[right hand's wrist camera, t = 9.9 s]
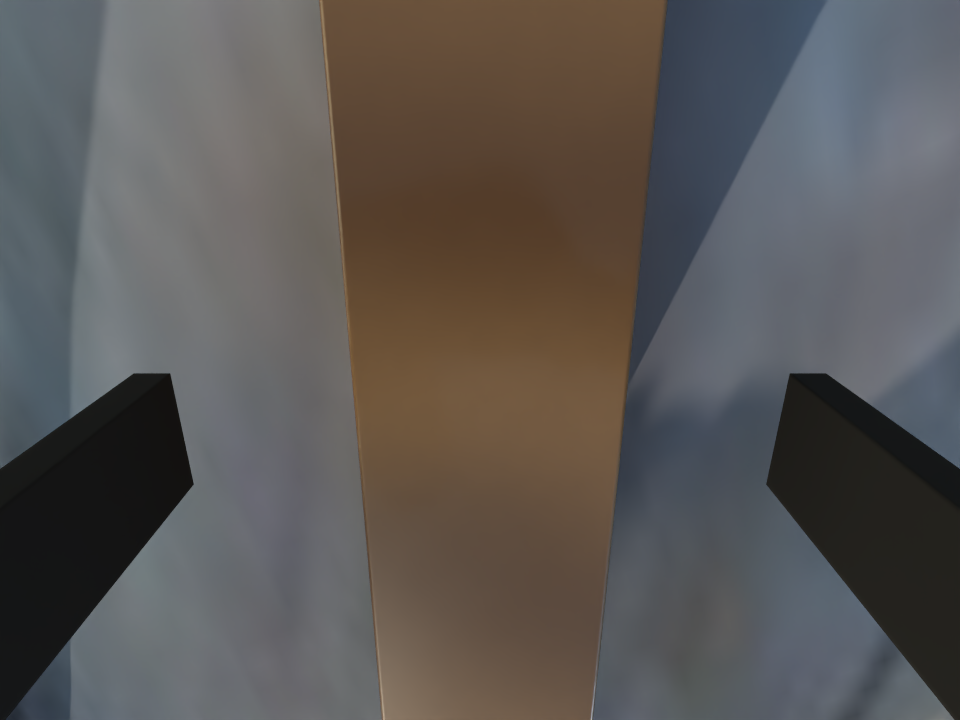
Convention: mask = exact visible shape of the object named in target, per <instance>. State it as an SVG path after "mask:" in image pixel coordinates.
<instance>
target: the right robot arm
mask: <svg viewBox="0 0 960 720" xmlns="http://www.w3.org/2000/svg"><path fill="white" fill-rule="evenodd" d="M193 485H194V484H193V479H192V474H191V470H190V465H189V460H188V455H187V451H186V446H185V441H184V437H183V432H182V427H181V422H180V418H179V413H178V408H177V404H176V399H175V394H174V389H173V385H172V380H171V375H170V374H133V375H131V376H130V377H128V378H127V379H126V380H124V381H123V382H121V383H120V384H119V385H117V386H116V387H114V388H113V389H112V390H110V391H109V392H107V393H106V394H105V395H103V396H102V397H100V398H99V399H98V400H96V401H95V402H93V403H92V404H91V405H89V406H88V407H86V408H85V409H84V410H82V411H81V412H79V413H78V414H77V415H75V416H74V417H72V418H71V419H70V420H68V421H67V422H65V423H64V424H63V425H61V426H60V427H58V428H57V429H56V430H54V431H53V432H51V433H50V434H49V435H47V436H46V437H44V438H43V439H42V440H40V441H39V442H37V443H36V444H35V445H33V446H32V447H30V448H29V449H28V450H26V451H25V452H23V453H22V454H21V455H19V456H18V457H16V458H15V459H14V460H12V461H11V462H9V463H8V464H7V465H5V466H4V467H2V468H1V469H0V720H6V718H7V717H8V716H9V715H10V713H11V712H12V711H13V710H14V708H15V707H16V706H17V705H18V703H19V702H20V701H21V700H22V698H23V697H24V696H25V695H26V693H27V692H28V691H29V690H30V688H31V687H32V686H33V685H34V683H35V682H36V681H37V680H38V678H39V677H40V676H41V675H42V673H43V672H44V671H45V670H46V668H47V667H48V666H49V665H50V663H51V662H52V661H53V660H54V658H55V657H56V656H57V655H58V653H59V652H60V651H61V650H62V648H63V647H64V646H65V645H66V643H67V642H68V641H69V640H70V638H71V637H72V636H73V635H74V633H75V632H76V631H77V630H78V628H79V627H80V626H81V625H82V623H83V622H84V621H85V620H86V618H87V617H88V616H89V615H90V613H91V612H92V611H93V610H94V608H95V607H96V606H97V605H98V603H99V602H100V601H101V600H102V598H103V597H104V596H105V595H106V593H107V592H108V591H109V590H110V588H111V587H112V586H113V585H114V583H115V582H116V581H117V580H118V578H119V577H120V576H121V575H122V573H123V572H124V571H125V570H126V568H127V567H128V566H129V565H130V563H131V562H132V561H133V560H134V558H135V557H136V556H137V555H138V553H139V552H140V551H141V550H142V548H143V547H144V546H145V545H146V543H147V542H148V541H149V540H150V538H151V537H152V536H153V535H154V533H155V532H156V531H157V530H158V528H159V527H160V526H161V525H162V523H163V522H164V521H165V520H166V518H167V517H168V516H169V515H170V513H171V512H172V511H173V510H174V508H175V507H176V506H177V505H178V503H179V502H180V501H181V500H182V498H183V497H184V496H185V495H186V493H187V492H188V491H189V490H190V488H191V487H192V486H193ZM766 485H767V486H768V487H769V488H770V490H771V491H772V492H773V493H774V495H775V496H776V497H777V498H778V500H779V501H780V502H781V503H782V505H783V506H784V507H785V508H786V510H787V511H788V512H789V513H790V515H791V516H792V517H793V518H794V520H795V521H796V522H797V523H798V525H799V526H800V527H801V528H802V530H803V531H804V532H805V533H806V535H807V536H808V537H809V538H810V540H811V541H812V542H813V543H814V545H815V546H816V547H817V548H818V550H819V551H820V552H821V553H822V555H823V556H824V557H825V558H826V560H827V561H828V562H829V563H830V565H831V566H832V567H833V568H834V570H835V571H836V572H837V573H838V575H839V576H840V577H841V578H842V580H843V581H844V582H845V583H846V585H847V586H848V587H849V588H850V590H851V591H852V592H853V593H854V595H855V596H856V597H857V598H858V600H859V601H860V602H861V603H862V605H863V606H864V607H865V608H866V610H867V611H868V612H869V613H870V615H871V616H872V617H873V618H874V620H875V621H876V622H877V623H878V625H879V626H880V627H881V628H882V630H883V631H884V632H885V633H886V635H887V636H888V637H889V638H890V640H891V641H892V642H893V643H894V645H895V646H896V647H897V648H898V650H899V651H900V652H901V653H902V655H903V656H904V657H905V658H906V660H907V661H908V662H909V663H910V665H911V666H912V667H913V668H914V670H915V671H916V672H917V673H918V675H919V676H920V677H921V678H922V680H923V681H924V682H925V683H926V685H927V686H928V687H929V688H930V690H931V691H932V692H933V693H934V695H935V696H936V697H937V698H938V700H939V701H940V702H941V703H942V705H943V706H944V707H945V708H946V710H947V711H948V712H949V713H950V715H951V716H952V717H953V718H954V720H960V469H959V468H958V467H956V466H955V465H953V464H952V463H951V462H949V461H948V460H946V459H945V458H944V457H942V456H941V455H939V454H938V453H937V452H935V451H934V450H932V449H931V448H930V447H928V446H927V445H925V444H924V443H923V442H921V441H920V440H918V439H917V438H916V437H914V436H913V435H911V434H910V433H909V432H907V431H906V430H904V429H903V428H902V427H900V426H899V425H897V424H896V423H895V422H893V421H892V420H890V419H889V418H888V417H886V416H885V415H883V414H882V413H881V412H879V411H878V410H876V409H875V408H874V407H872V406H871V405H869V404H868V403H867V402H865V401H864V400H862V399H861V398H860V397H858V396H857V395H855V394H854V393H853V392H851V391H850V390H848V389H847V388H846V387H844V386H843V385H841V384H840V383H839V382H837V381H836V380H834V379H833V378H832V377H830V376H829V375H827V374H790V375H789V380H788V385H787V389H786V394H785V399H784V404H783V408H782V413H781V418H780V422H779V427H778V432H777V437H776V441H775V446H774V451H773V455H772V460H771V465H770V470H769V474H768V479H767V484H766Z"/></svg>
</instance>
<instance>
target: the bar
mask: <svg viewBox="0 0 960 720" xmlns="http://www.w3.org/2000/svg"><path fill="white" fill-rule="evenodd" d="M667 3H668V0H319V6H320V17H321V29H322V40H323V52H324V63H325V74H326V86H327V97H328V109H329V120H330V132H331V143H332V155H333V166H334V177H335V189H336V200H337V212H338V223H339V235H340V246H341V258H342V269H343V280H344V292H345V303H346V315H347V326H348V338H349V349H350V361H351V372H352V384H353V395H354V406H355V418H356V429H357V441H358V452H359V464H360V475H361V487H362V498H363V509H364V521H365V532H366V544H367V555H368V567H369V578H370V590H371V601H372V612H373V624H374V635H375V647H376V658H377V670H378V681H379V693H380V704H381V716H382V720H593V714H594V704H595V695H596V685H597V676H598V666H599V656H600V647H601V637H602V628H603V618H604V608H605V599H606V589H607V579H608V570H609V560H610V551H611V541H612V531H613V522H614V512H615V503H616V493H617V483H618V474H619V464H620V455H621V445H622V435H623V426H624V416H625V407H626V397H627V387H628V378H629V368H630V358H631V349H632V339H633V330H634V320H635V310H636V301H637V291H638V282H639V272H640V262H641V253H642V243H643V234H644V224H645V214H646V205H647V195H648V186H649V176H650V166H651V157H652V147H653V137H654V128H655V118H656V109H657V99H658V89H659V80H660V70H661V61H662V51H663V41H664V32H665V22H666V13H667Z"/></svg>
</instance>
